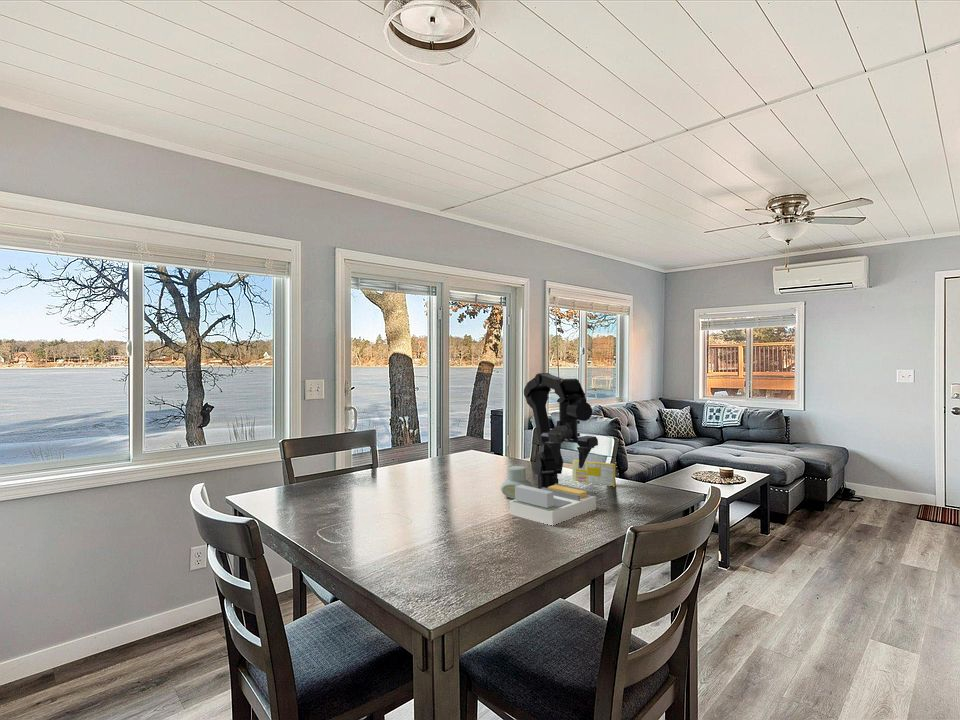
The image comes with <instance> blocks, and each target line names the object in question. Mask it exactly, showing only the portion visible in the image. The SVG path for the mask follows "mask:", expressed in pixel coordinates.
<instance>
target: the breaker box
mask: <svg viewBox="0 0 960 720" xmlns="http://www.w3.org/2000/svg"><path fill="white" fill-rule="evenodd" d="M555 485H559V486H564V487H569V488H574V489H578V490H583V491H587V496H585V497H583V498H580V495H576V494H572V493H567V492H562V491H558V490H553V489H549V488H544V487H543V488H541V489H543V490H547V491H552V492H554V506H552V507H549V508H545V507H541V506H537V505H533V504H529V503H525V502H521V501H517V500H515V499H511V500H509V515H511V516H515V517H518V518H522V519H526V520H528V521H529V520H530V521H533V522H536V523H539V522H540V523H541V524H543V523H544V525H547V524H548V526H550V525H552V526H551V527H554V526H557V525H559V524H562V523H564V522H563V521H565V522H567V521H569V520H568V519H570V520H572V519H574V518H573V517H575V518H577V517H580V516H582V515H581V514H583V515H585V514H587V512H588V513H590V512H592V510H593V511H595V510H597V496H596V495H594V490H590V489H584V488H580V487H576V486H571V485H570V486H569V485H566V484H561V483H558V484H557V483H556V484H555ZM589 511H590V512H589ZM584 513H585V514H584ZM579 515H580V516H579ZM576 516H577V517H576ZM571 518H572V519H571ZM566 520H567V521H566ZM561 522H562V523H561ZM558 523H559V524H558ZM556 524H557V525H556ZM553 525H554V526H553Z"/></svg>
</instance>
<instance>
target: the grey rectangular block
mask: <svg viewBox="0 0 960 720" xmlns="http://www.w3.org/2000/svg"><path fill="white" fill-rule="evenodd" d="M515 500H517V501H521V502H525V503H529V504H533V505H537V506H541V507H545V508H549V507H552V506H554V492H552V491H547V490H543V489H538V487H535V486H533V487H529V486H525V485H519V486H515Z"/></svg>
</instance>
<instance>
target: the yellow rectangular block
mask: <svg viewBox="0 0 960 720" xmlns="http://www.w3.org/2000/svg"><path fill="white" fill-rule="evenodd" d="M548 488H549V489H553V490H558V491H562V492H567V493H572V494H576V495H580V498H583V497H585V496H587V491H583V490H578V489H574V488H569V487H564V486H559V485H552V486H549V487H548Z"/></svg>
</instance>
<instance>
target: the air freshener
mask: <svg viewBox="0 0 960 720" xmlns="http://www.w3.org/2000/svg"><path fill="white" fill-rule="evenodd" d="M526 475H527V473H526V467H525V466H522V465H521V466H520V465H512V466H509V467H508V469H507V478H508V479H506V480H504V481H502V483H501V485H500V491H501V493H502V495H504V496H505V497H506V498H509V499H511V500H514V499H515V486H519V485H525V486H529V487H534V485H533V484H532V482H530V481H529V480H527V478H526Z"/></svg>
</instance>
